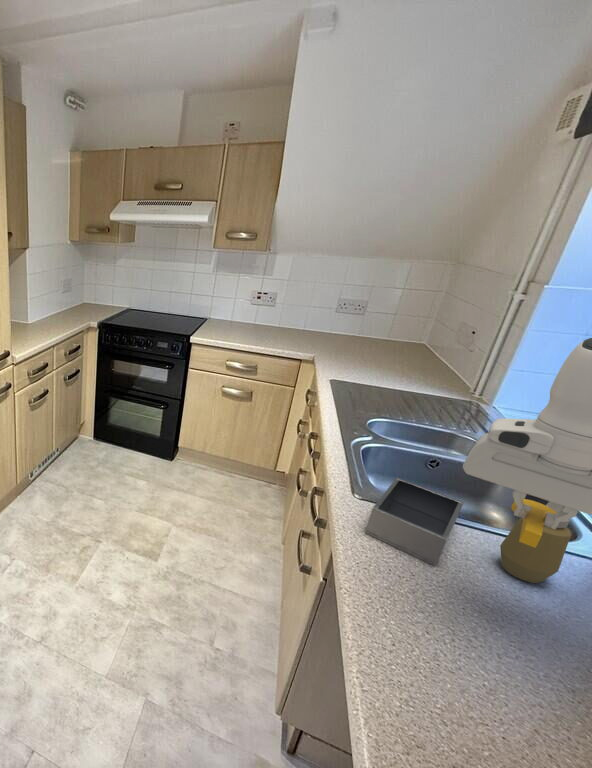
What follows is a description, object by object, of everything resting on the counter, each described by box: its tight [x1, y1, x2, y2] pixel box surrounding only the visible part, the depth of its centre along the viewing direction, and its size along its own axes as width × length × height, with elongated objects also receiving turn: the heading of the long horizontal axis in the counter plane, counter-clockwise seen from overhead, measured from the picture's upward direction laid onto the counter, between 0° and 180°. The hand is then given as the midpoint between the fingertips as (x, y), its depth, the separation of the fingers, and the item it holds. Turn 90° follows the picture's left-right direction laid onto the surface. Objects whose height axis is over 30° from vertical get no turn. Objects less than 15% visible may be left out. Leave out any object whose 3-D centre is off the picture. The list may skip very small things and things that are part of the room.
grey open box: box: [364, 477, 465, 567], centre depth 92 cm, size 19×13×7 cm
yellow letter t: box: [510, 498, 556, 548], centre depth 67 cm, size 5×14×2 cm, turn 131°
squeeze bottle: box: [499, 501, 572, 584], centre depth 79 cm, size 8×8×18 cm
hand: (533, 520), depth 66 cm, fingers closed on yellow letter t, 2 cm apart
